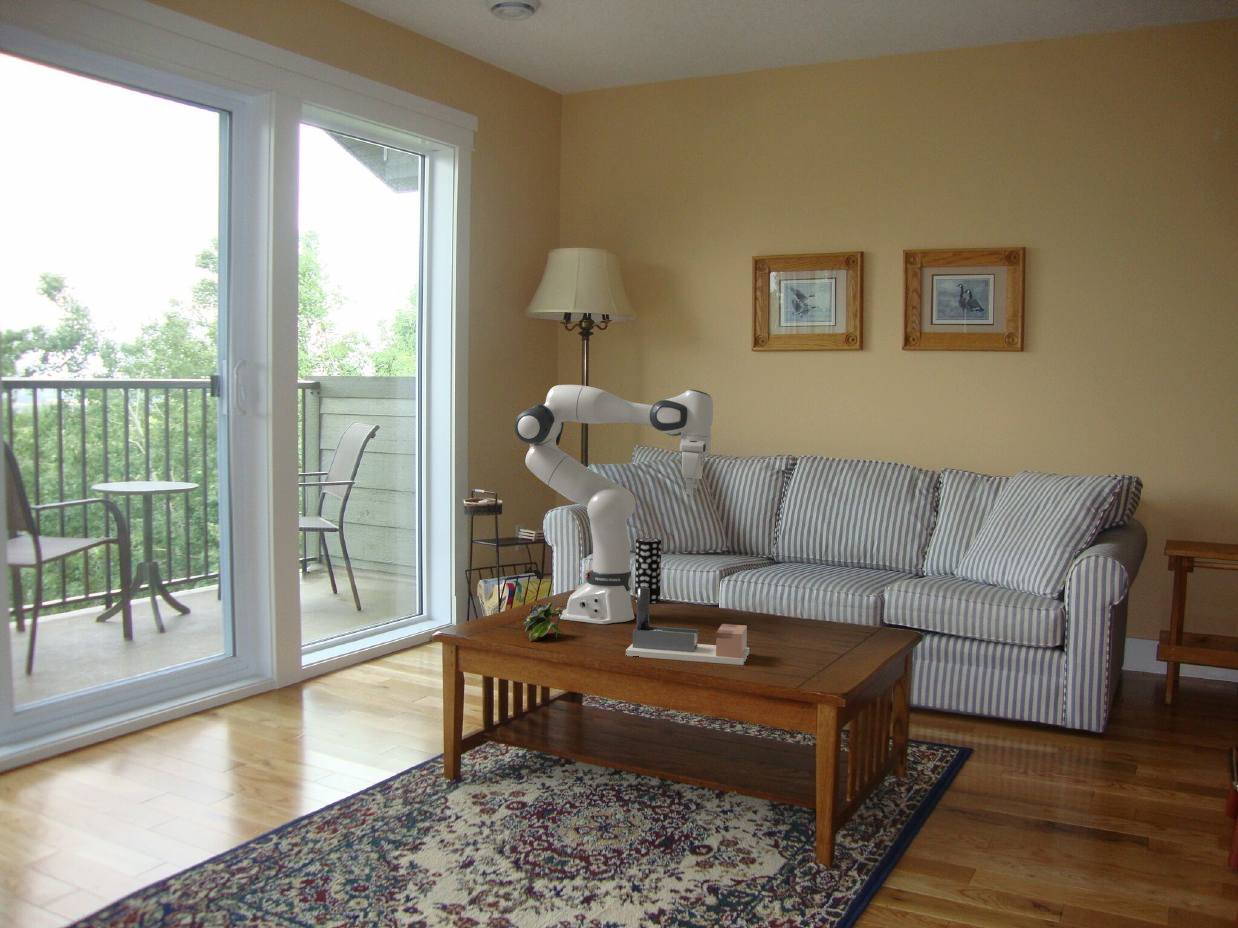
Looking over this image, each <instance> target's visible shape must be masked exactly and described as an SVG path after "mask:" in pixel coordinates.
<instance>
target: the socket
mask: <svg viewBox="0 0 1238 928" xmlns="http://www.w3.org/2000/svg"><path fill="white" fill-rule="evenodd" d="M747 635H748V625H743V624H742V625H741V624H730V623H722V624H721V625H720V627H718V629H717V631H716V638H715V645H716V656H722V657H735V658H742V656H743V654H744V652H745V650H746V648H748V646H747V645H748V644H747V642H748V640H747V638H748V636H747Z"/></svg>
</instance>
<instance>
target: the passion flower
mask: <svg viewBox="0 0 1238 928" xmlns="http://www.w3.org/2000/svg"><path fill="white" fill-rule="evenodd" d="M554 608H555V606H554V605H553V603H552V602H549V603H548V604H543V603H535V605H533V604H532V605H531V606H530V609H529V615H527V617H526V619H525V620H526V621H523V625H524V626H526V628H525V631H524V632H526V633H528V632H529V634H528V639H529V641H530V642H532V639H533V640H535V639H537V638H542V637H544V636H545V635H548V632H549V631H551V630H552V631H554V633H555V639H556V638H557V637H558V634H562V631H561V630H560V628H559V624H560V620H561V619H560V617H561V615H562V612H563V608H562V607H561V606H560V607H557V608H555V610H556V611H554ZM559 614H560V616H559ZM556 616H557V617H558V620H557V622H556V623H555V622H554V621H553V618H554V617H556ZM557 639H558V638H557Z"/></svg>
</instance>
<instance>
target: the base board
mask: <svg viewBox="0 0 1238 928" xmlns="http://www.w3.org/2000/svg"><path fill="white" fill-rule="evenodd" d="M749 654H750V647H746V650H745V652H744V654H743V656H742V658H735V657H722V656H716V644H715V645H714V644H704V643H703V644H702V643H698V647H697V648H696V650H695V651H694V652H685V651H672V650H659V649H646V648H633V642H632V643H631V644H630V645H629V646H628V647H627V648H626V649H625V656H626V655H627V656H626V657H633V656H639V657H638V658H649V659H657V660H658V659H659V660H672V661H673V660H674V661H684V662H686V661H687V662H695V663H696V662H699V663H709V664H711V663H712V664H721V665H722V664H724V665H737V666H744V665H745V663H746V660H747V659H748V657H749ZM747 656H748V657H747ZM744 662H745V663H744Z"/></svg>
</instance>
